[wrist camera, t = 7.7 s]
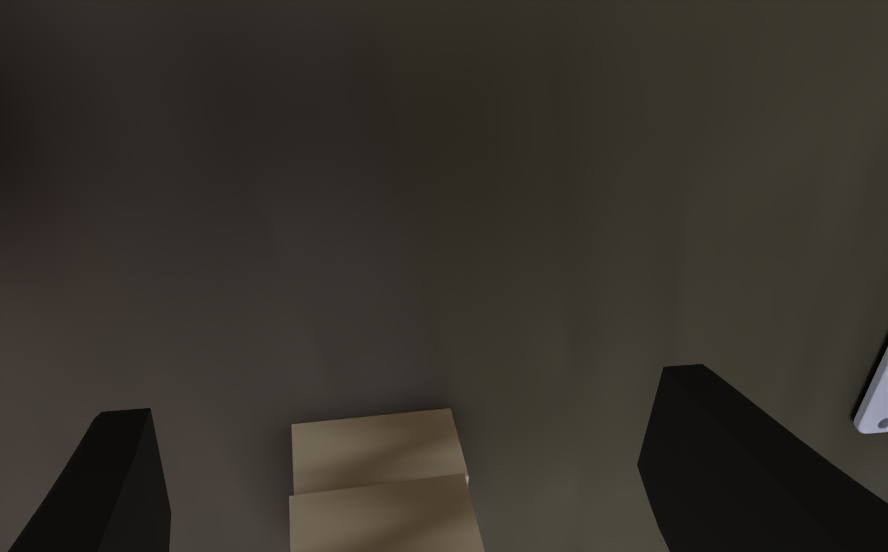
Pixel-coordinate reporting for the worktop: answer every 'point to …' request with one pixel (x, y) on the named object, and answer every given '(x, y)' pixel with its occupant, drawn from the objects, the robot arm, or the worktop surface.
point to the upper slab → (387, 518)
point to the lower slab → (375, 450)
